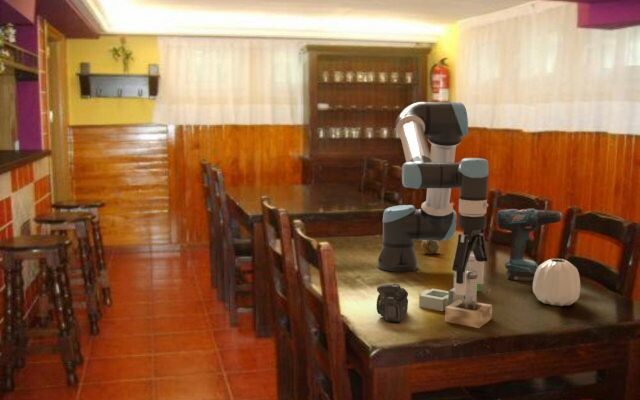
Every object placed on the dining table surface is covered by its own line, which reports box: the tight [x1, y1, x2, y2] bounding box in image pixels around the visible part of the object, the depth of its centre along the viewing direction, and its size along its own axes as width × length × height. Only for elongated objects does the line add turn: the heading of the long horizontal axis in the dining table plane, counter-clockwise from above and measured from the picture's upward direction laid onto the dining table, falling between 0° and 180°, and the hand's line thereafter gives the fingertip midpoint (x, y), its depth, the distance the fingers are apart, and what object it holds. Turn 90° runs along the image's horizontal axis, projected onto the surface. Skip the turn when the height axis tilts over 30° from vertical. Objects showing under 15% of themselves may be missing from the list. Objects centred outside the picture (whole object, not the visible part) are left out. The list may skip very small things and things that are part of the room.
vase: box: [532, 258, 581, 307], centre depth 197 cm, size 14×14×13 cm
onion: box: [420, 240, 440, 255], centre depth 266 cm, size 8×8×8 cm
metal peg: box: [462, 270, 478, 311], centre depth 180 cm, size 4×4×14 cm
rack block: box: [444, 299, 493, 329], centre depth 180 cm, size 10×10×4 cm
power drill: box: [496, 208, 566, 282], centre depth 226 cm, size 9×23×25 cm, turn 78°
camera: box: [376, 283, 409, 324], centre depth 182 cm, size 13×10×10 cm
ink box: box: [453, 253, 483, 292], centre depth 211 cm, size 9×5×12 cm, turn 87°
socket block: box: [418, 287, 462, 312], centre depth 192 cm, size 16×10×6 cm, turn 56°
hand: (469, 288), depth 179 cm, fingers open, 13 cm apart
